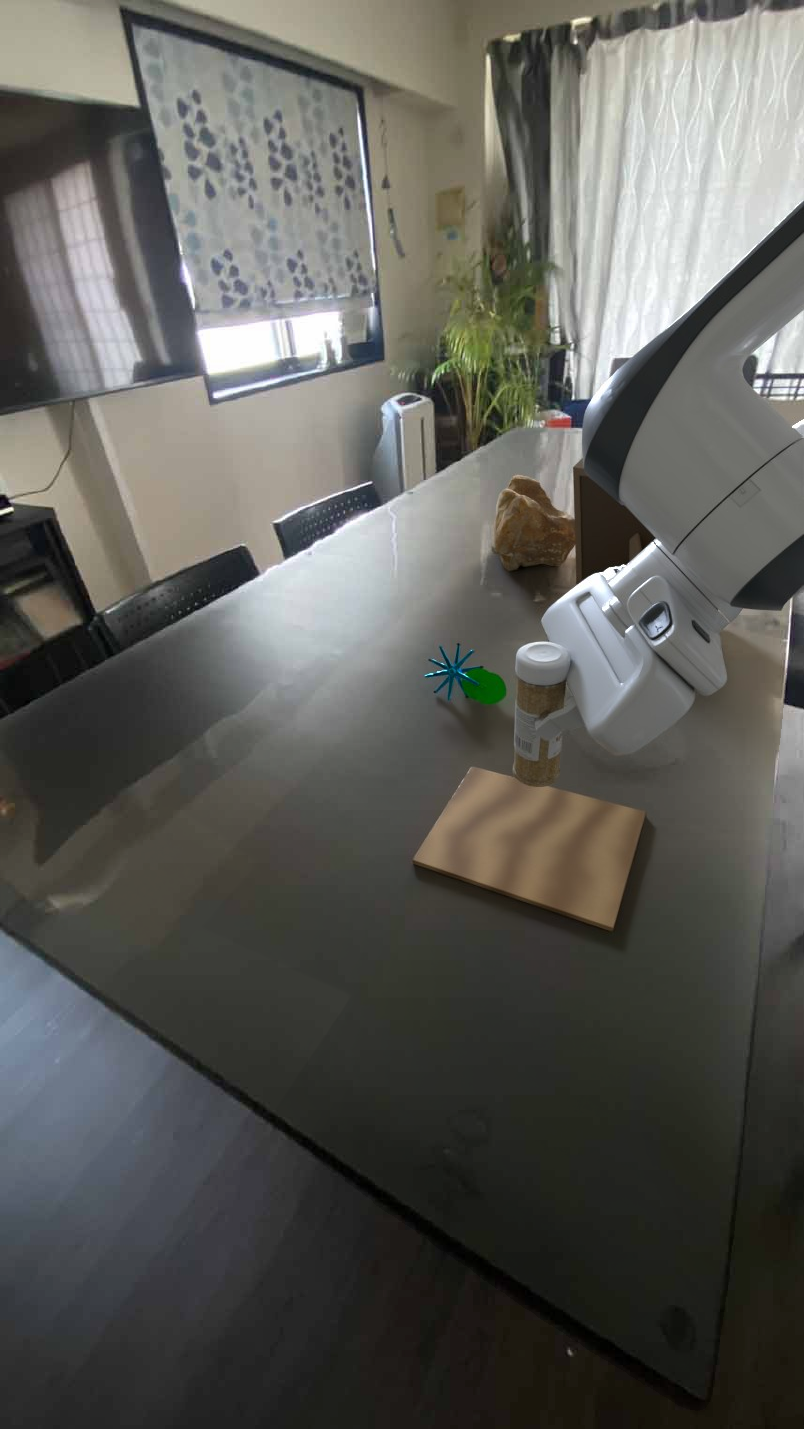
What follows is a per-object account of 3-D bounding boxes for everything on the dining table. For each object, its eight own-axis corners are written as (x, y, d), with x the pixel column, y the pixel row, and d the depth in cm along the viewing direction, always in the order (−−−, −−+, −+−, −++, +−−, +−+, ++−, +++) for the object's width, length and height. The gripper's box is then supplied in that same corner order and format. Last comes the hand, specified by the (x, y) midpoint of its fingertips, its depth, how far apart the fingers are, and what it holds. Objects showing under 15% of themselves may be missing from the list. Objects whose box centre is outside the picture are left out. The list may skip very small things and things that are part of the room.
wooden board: (645, 815, 68) (646, 811, 68) (612, 932, 57) (613, 928, 57) (471, 769, 77) (471, 765, 76) (412, 863, 65) (412, 859, 65)
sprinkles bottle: (567, 783, 60) (581, 660, 53) (522, 793, 60) (529, 671, 52) (547, 754, 64) (556, 635, 56) (504, 763, 63) (507, 645, 55)
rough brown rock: (571, 589, 117) (586, 507, 109) (481, 578, 120) (489, 498, 112) (575, 546, 136) (588, 473, 127) (497, 538, 139) (505, 466, 131)
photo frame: (588, 593, 113) (603, 444, 99) (715, 623, 101) (753, 458, 87) (546, 626, 105) (557, 468, 90) (681, 663, 93) (717, 487, 78)
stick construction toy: (413, 684, 89) (437, 633, 88) (425, 685, 95) (448, 638, 94) (491, 722, 86) (517, 670, 85) (498, 721, 93) (522, 672, 92)
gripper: (600, 537, 59) (493, 638, 65) (684, 646, 42) (529, 768, 48) (642, 579, 61) (535, 672, 67) (737, 697, 45) (583, 808, 51)
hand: (533, 713), depth 58 cm, fingers closed on sprinkles bottle, 4 cm apart
